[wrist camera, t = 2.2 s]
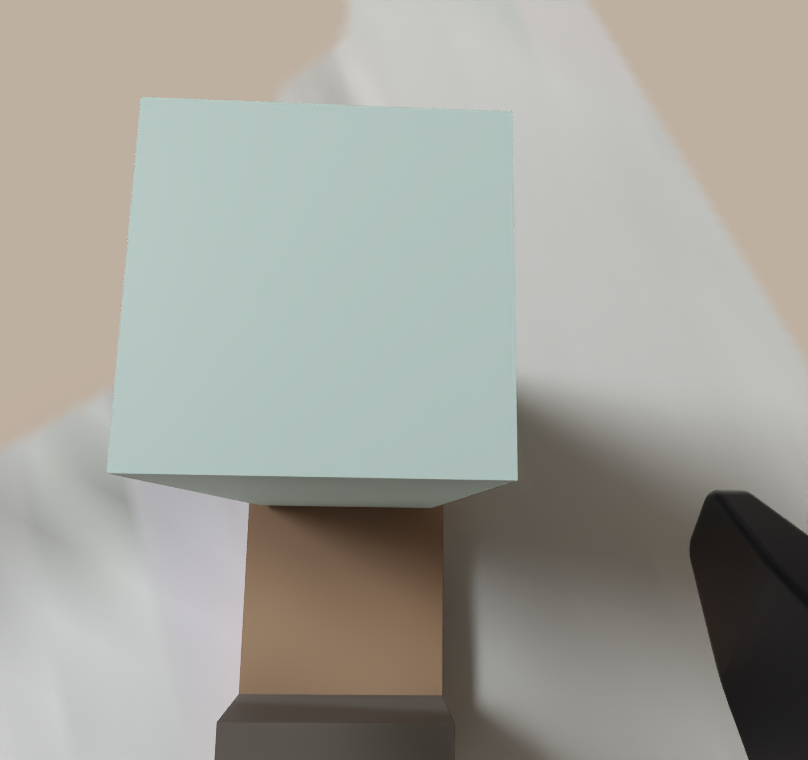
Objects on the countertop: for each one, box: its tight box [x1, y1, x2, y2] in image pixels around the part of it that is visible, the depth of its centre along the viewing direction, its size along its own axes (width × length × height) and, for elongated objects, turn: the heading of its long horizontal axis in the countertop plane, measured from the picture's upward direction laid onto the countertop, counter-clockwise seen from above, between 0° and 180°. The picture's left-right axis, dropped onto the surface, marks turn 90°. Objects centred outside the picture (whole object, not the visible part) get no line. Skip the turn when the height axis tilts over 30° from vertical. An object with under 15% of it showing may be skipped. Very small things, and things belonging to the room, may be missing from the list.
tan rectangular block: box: [215, 503, 454, 760], centre depth 17 cm, size 10×5×4 cm, turn 179°
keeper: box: [106, 97, 518, 508], centre depth 13 cm, size 4×4×10 cm
